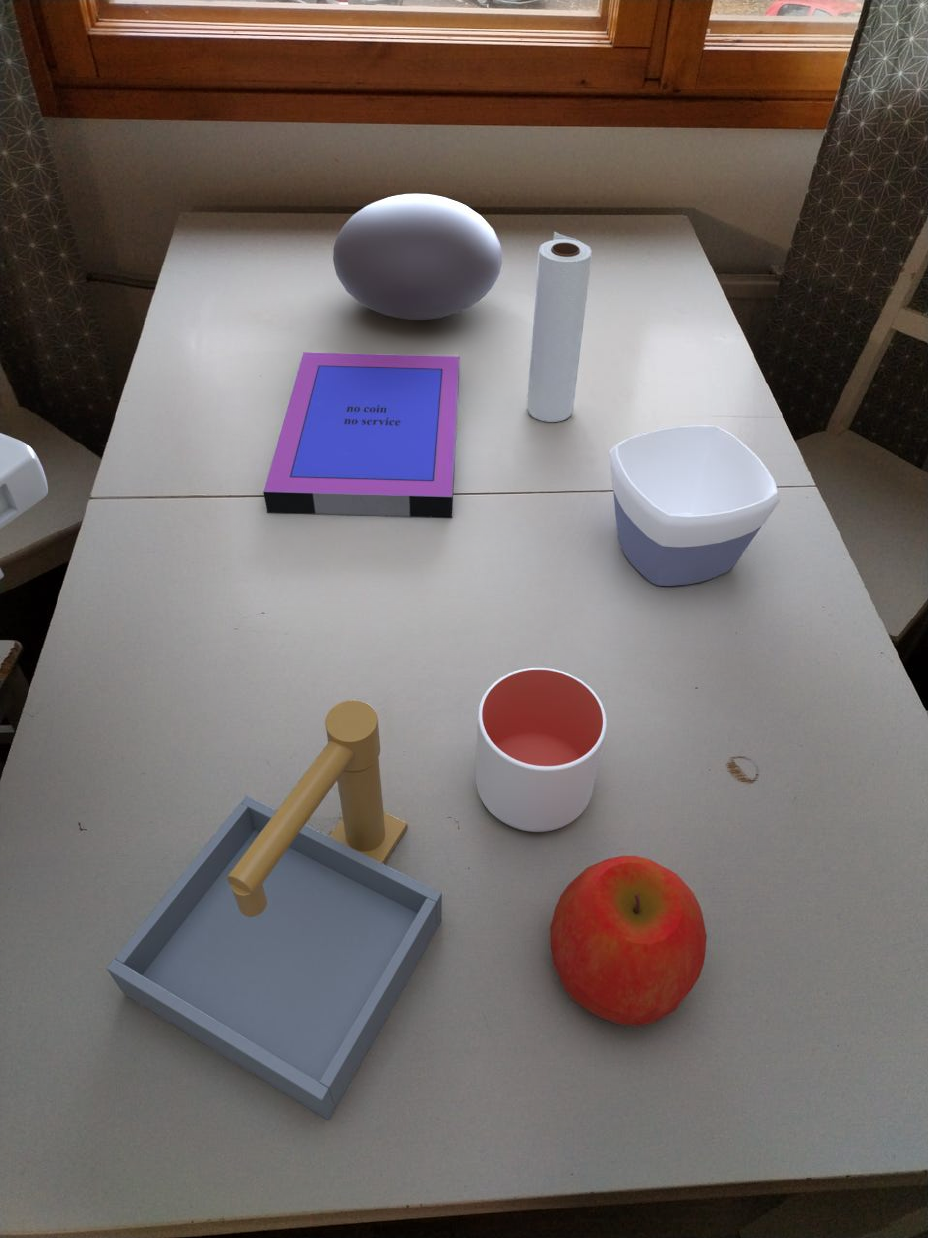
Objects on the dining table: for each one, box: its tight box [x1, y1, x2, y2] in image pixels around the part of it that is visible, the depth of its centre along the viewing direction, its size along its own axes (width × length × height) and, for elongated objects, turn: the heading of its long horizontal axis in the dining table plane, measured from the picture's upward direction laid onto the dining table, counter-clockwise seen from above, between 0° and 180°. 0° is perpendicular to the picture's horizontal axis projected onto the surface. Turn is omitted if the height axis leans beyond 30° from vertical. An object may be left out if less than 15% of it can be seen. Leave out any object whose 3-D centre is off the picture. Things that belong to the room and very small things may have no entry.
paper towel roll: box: [526, 231, 593, 423], centre depth 109 cm, size 7×6×21 cm
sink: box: [106, 795, 443, 1121], centre depth 64 cm, size 16×18×4 cm
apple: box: [549, 855, 708, 1027], centre depth 62 cm, size 11×11×11 cm
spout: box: [227, 699, 381, 917], centre depth 59 cm, size 15×4×5 cm, turn 153°
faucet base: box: [329, 757, 408, 865], centre depth 68 cm, size 5×5×12 cm
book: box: [262, 351, 461, 519], centre depth 110 cm, size 21×3×30 cm
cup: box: [475, 667, 608, 833], centre depth 73 cm, size 10×10×10 cm
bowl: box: [608, 424, 781, 587], centre depth 94 cm, size 15×15×11 cm
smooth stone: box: [332, 193, 503, 321], centre depth 130 cm, size 25×25×15 cm
